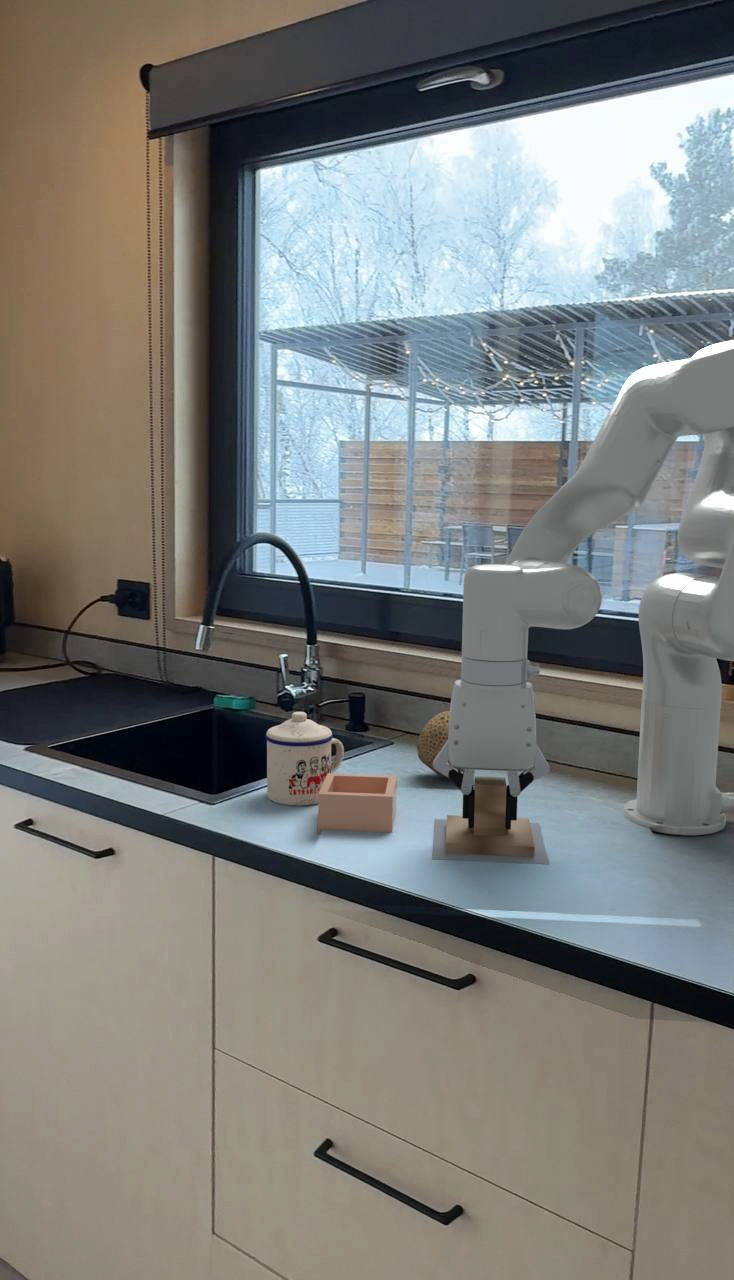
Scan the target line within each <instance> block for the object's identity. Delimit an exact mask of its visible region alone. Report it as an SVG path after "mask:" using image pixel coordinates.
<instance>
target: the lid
mask: <svg viewBox="0 0 734 1280" xmlns="http://www.w3.org/2000/svg"><path fill="white" fill-rule="evenodd" d="M506 780H507V779H506V777H503V776H502V777H501V776H480V775H479V776H477V775H474V790H475V808H474V827H473V828H468V819H465V818H463V815H451V814H450V815H449V814H447V816H446V819H447V828H446V853H457V854H480V855H502V856H525V857H534V849H535V846H534V841H533V836H532V831H531V826H530V823H531V821H530V818H525V817H524V818H523V817H517V820H511V830H509V829H506V828H505V818H506V789H507V786H508V785H507V781H506Z"/></svg>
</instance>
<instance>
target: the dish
mask: <svg viewBox="0 0 734 1280" xmlns="http://www.w3.org/2000/svg"><path fill="white" fill-rule="evenodd" d="M397 784H398V775H389V774H387V775H385V774H383V775H382V774H359V773H358V774H357V773H356V774H355V773H335V772H333V773H327V775H326V778H325V780H324V782H323V785H322V787H321V789H320V791H319V794H318V804H317V805H318V806H317V807H318V809H317V810H318V812H317V814H318V815H317V816H318V817H317V822H318V823H317V828H318V829H317V834H319V835H321V834H322V832H323V831H322V830H326V831H352V832H373V833H374V832H375V833H379V832H380V833H393V831H394V830H393V829H394V823H395V817H396V812H397V799H398V798H397V794H398V793H397V792H398V791H397V790H398V788H397V787H398V786H397Z"/></svg>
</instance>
